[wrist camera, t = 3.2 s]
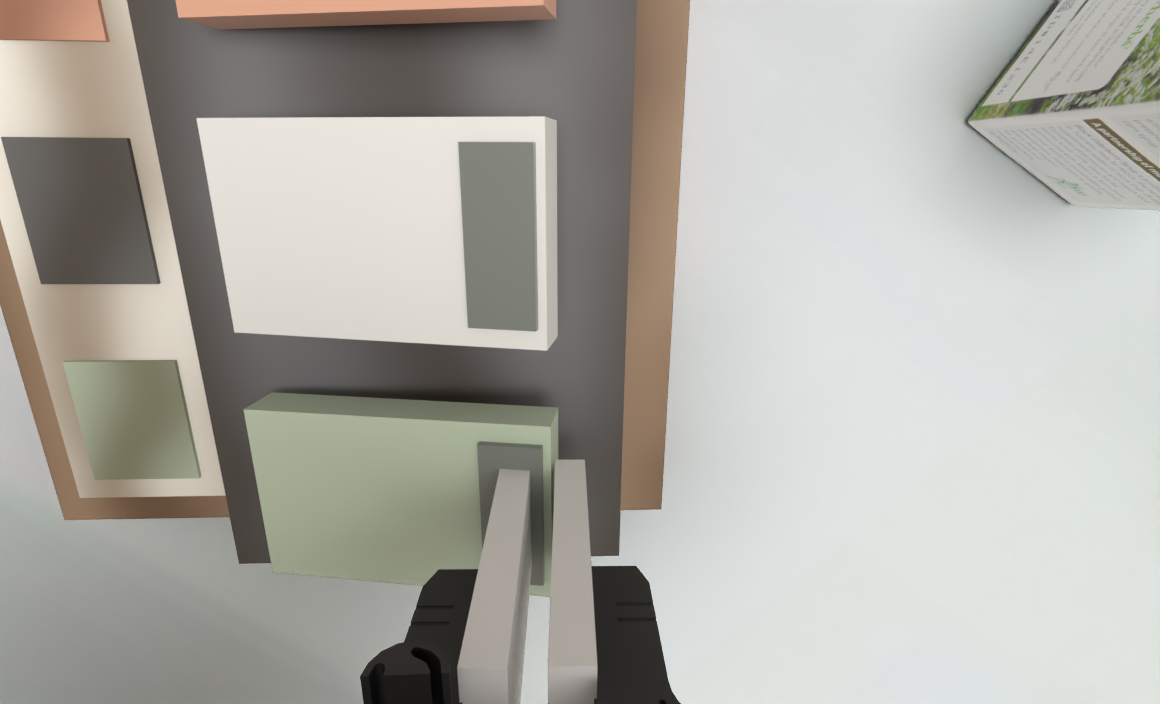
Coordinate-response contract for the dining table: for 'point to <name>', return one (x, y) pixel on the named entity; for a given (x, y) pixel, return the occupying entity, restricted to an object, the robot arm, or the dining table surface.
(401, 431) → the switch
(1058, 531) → the dining table surface
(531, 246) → the switch middle
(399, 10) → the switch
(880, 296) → the dining table surface
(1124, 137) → the syrup box
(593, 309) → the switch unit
